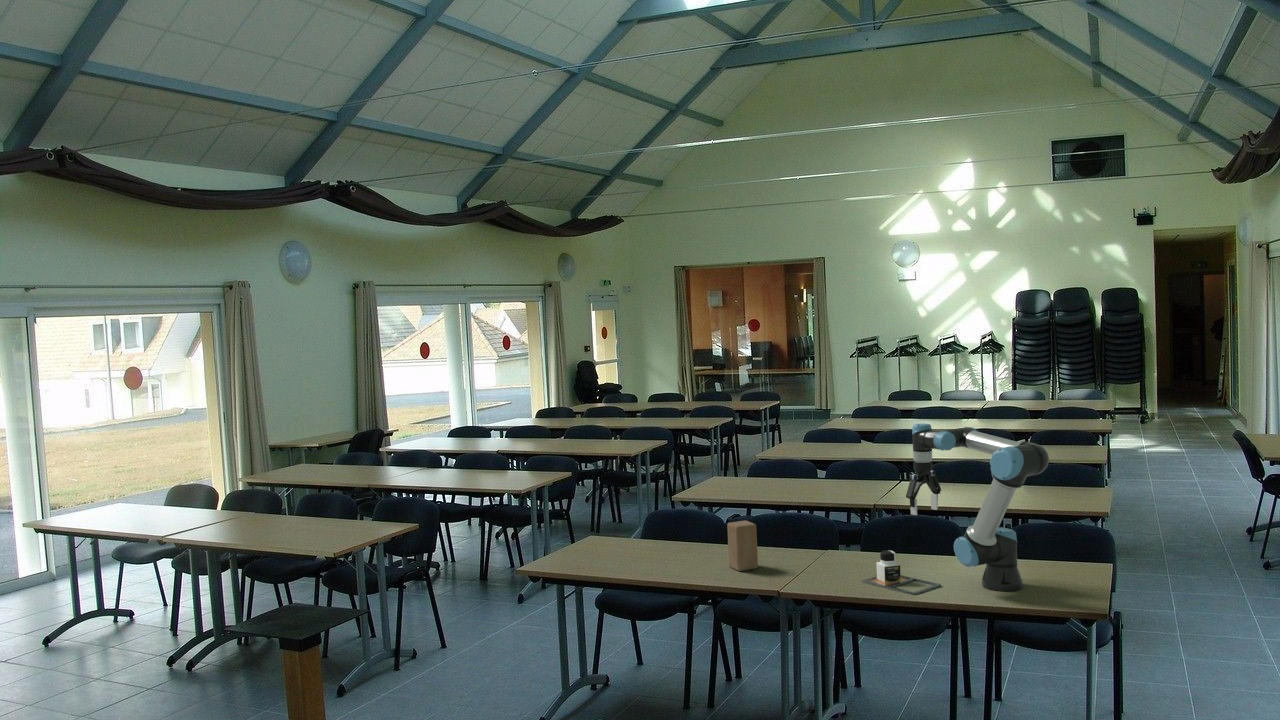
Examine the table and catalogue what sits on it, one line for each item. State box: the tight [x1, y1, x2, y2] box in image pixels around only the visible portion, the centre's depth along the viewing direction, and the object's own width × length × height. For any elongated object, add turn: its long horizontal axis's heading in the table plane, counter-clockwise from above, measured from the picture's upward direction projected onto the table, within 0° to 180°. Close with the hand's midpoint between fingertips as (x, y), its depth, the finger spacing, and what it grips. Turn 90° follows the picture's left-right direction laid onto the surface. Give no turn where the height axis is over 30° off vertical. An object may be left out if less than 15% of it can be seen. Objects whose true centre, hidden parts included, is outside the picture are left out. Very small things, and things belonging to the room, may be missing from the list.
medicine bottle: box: [875, 549, 901, 583], centre depth 399 cm, size 7×7×12 cm
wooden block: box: [727, 520, 759, 572], centre depth 430 cm, size 10×10×20 cm
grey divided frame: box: [861, 574, 942, 596], centre depth 395 cm, size 26×17×1 cm, turn 37°
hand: (924, 512), depth 404 cm, fingers open, 13 cm apart
